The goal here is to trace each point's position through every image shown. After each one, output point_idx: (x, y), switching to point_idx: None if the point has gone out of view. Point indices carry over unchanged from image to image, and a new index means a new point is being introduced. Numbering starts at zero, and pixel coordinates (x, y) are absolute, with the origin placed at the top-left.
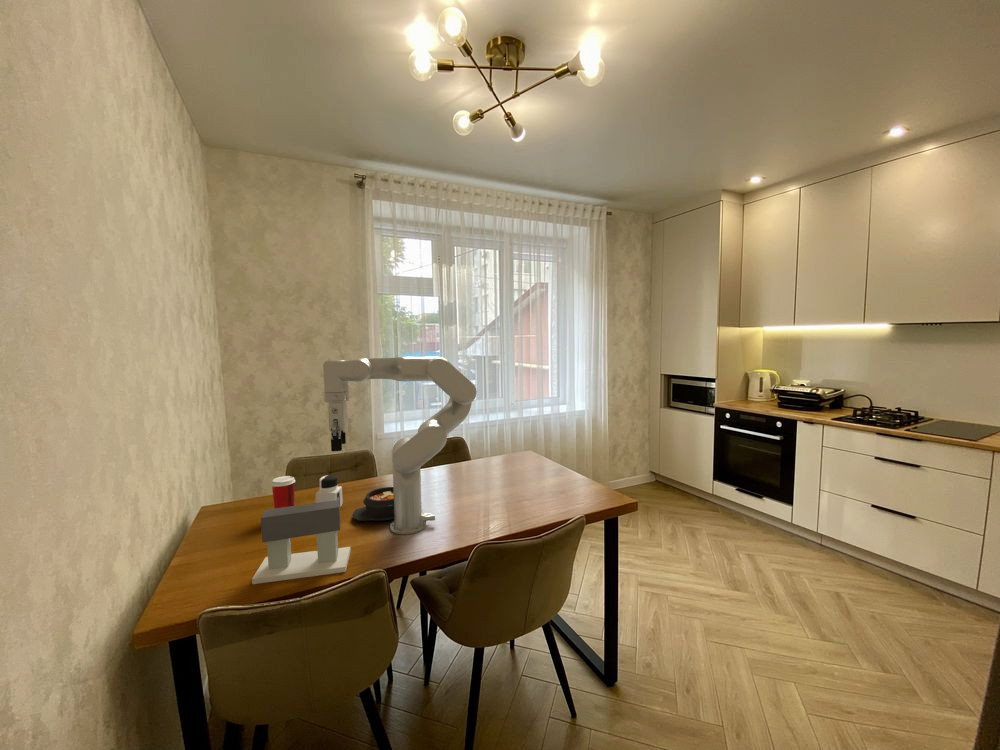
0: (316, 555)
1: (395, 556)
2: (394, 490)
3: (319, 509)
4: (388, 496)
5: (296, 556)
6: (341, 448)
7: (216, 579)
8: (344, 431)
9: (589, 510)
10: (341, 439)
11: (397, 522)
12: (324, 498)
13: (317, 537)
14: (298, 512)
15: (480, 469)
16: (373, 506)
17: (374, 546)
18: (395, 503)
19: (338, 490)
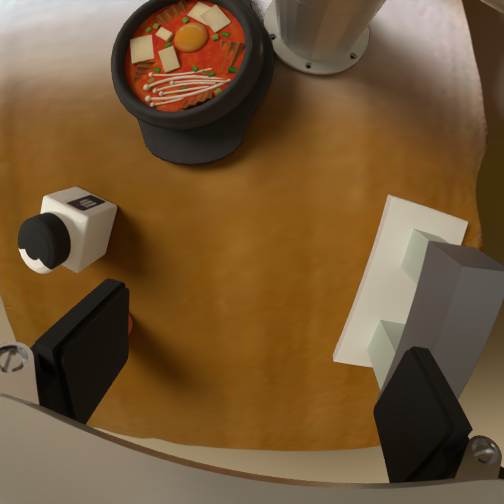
0: (391, 273)
1: (455, 109)
2: (348, 20)
3: (491, 326)
4: (167, 46)
5: (369, 311)
6: (432, 358)
7: (348, 408)
8: (468, 477)
9: None
10: (459, 421)
11: (340, 53)
12: (90, 245)
13: None
14: (469, 374)
15: None
16: (239, 100)
17: (391, 136)
18: (343, 37)
19: (67, 206)
